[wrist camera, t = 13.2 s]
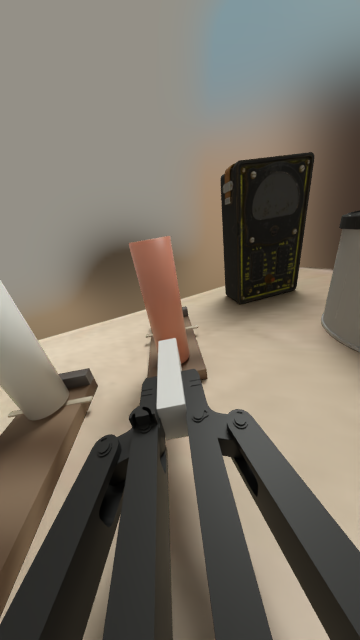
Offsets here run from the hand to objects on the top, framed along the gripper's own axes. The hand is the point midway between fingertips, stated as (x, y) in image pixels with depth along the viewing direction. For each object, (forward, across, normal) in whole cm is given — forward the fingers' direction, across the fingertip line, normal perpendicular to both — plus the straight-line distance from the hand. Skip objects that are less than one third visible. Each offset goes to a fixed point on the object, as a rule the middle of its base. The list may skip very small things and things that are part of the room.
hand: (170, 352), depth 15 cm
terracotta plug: (+6, 0, -5) cm, 8 cm away
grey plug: (+2, -14, -5) cm, 15 cm away
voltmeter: (+27, +22, -7) cm, 35 cm away
